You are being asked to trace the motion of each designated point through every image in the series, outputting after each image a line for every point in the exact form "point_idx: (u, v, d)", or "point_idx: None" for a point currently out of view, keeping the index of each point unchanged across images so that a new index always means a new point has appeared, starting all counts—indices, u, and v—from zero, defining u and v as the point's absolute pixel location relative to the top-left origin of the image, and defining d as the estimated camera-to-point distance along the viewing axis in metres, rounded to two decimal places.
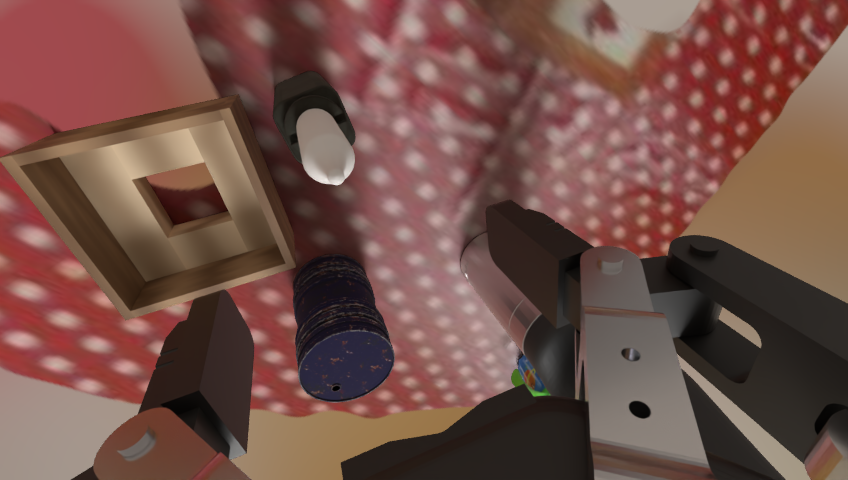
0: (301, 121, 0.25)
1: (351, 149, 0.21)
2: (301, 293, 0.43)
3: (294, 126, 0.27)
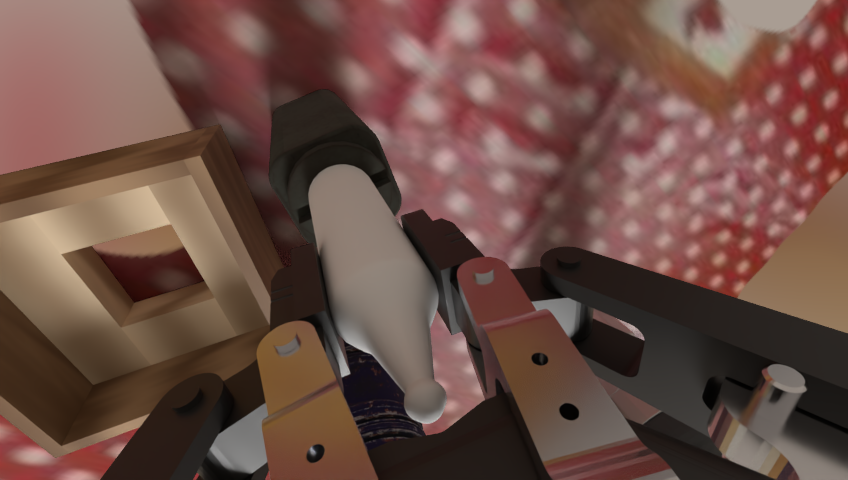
0: (319, 195, 0.14)
1: (434, 285, 0.10)
2: None
3: (305, 194, 0.16)
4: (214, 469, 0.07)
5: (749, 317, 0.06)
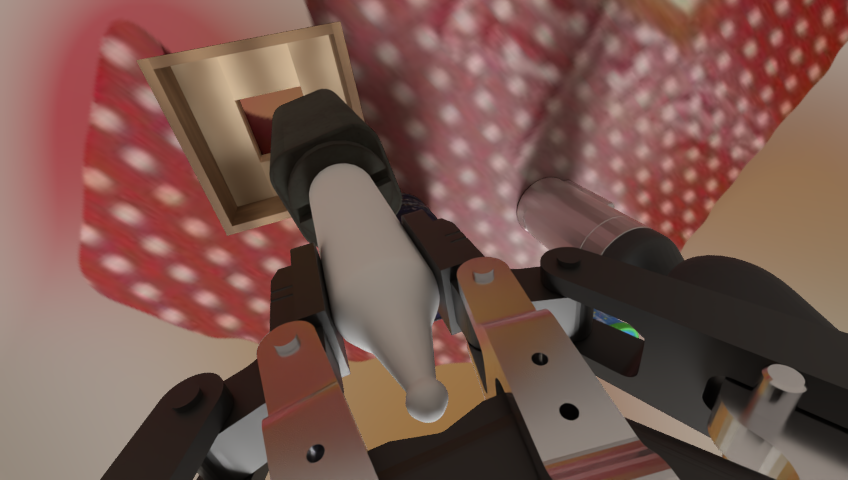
0: (320, 194, 0.14)
1: (436, 284, 0.10)
2: None
3: (306, 193, 0.16)
4: (214, 469, 0.07)
5: (750, 317, 0.06)
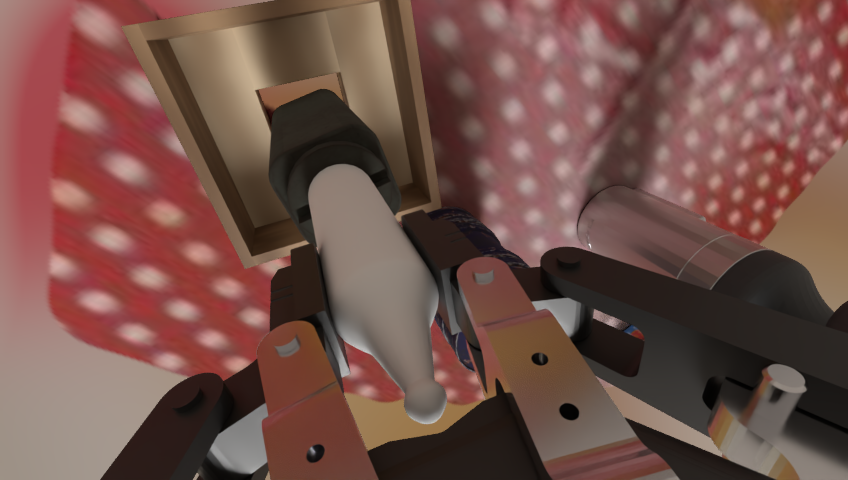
0: (319, 194, 0.14)
1: (434, 285, 0.10)
2: None
3: (305, 194, 0.16)
4: (214, 469, 0.07)
5: (749, 317, 0.06)
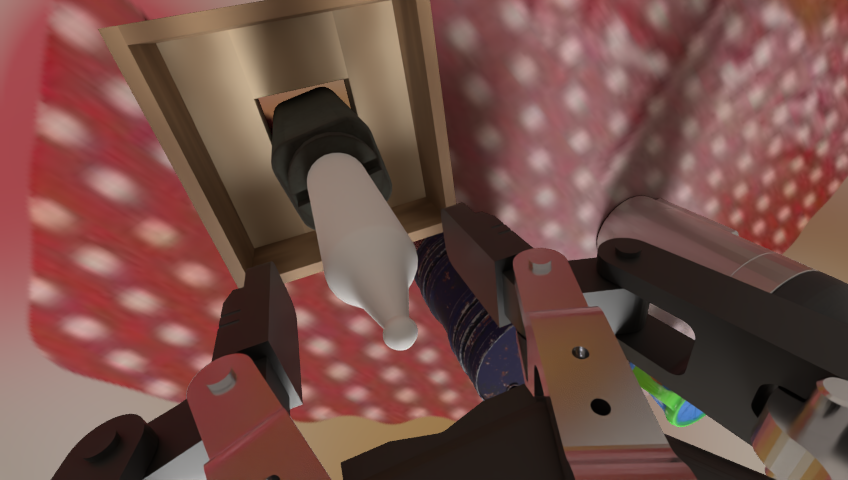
0: (316, 178, 0.16)
1: (414, 249, 0.12)
2: (442, 266, 0.33)
3: (304, 180, 0.18)
4: None
5: (819, 329, 0.06)
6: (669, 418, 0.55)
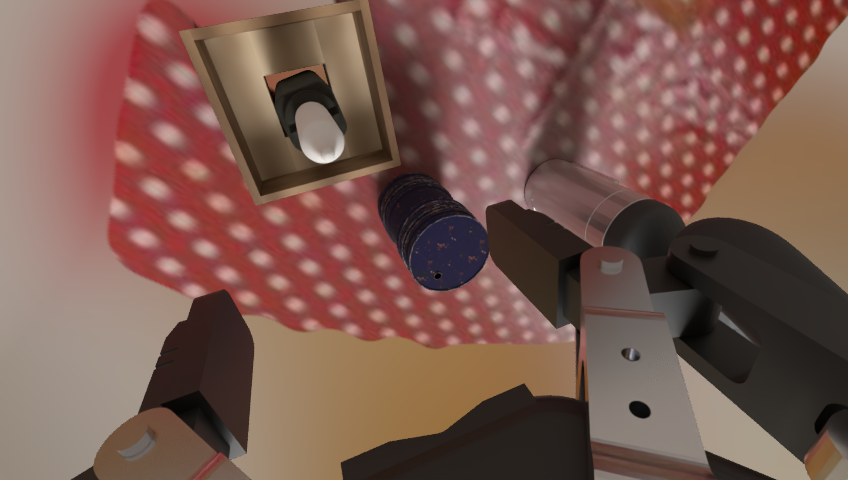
0: (299, 112, 0.29)
1: (341, 133, 0.25)
2: (395, 199, 0.47)
3: (293, 117, 0.31)
4: None
5: None
6: None
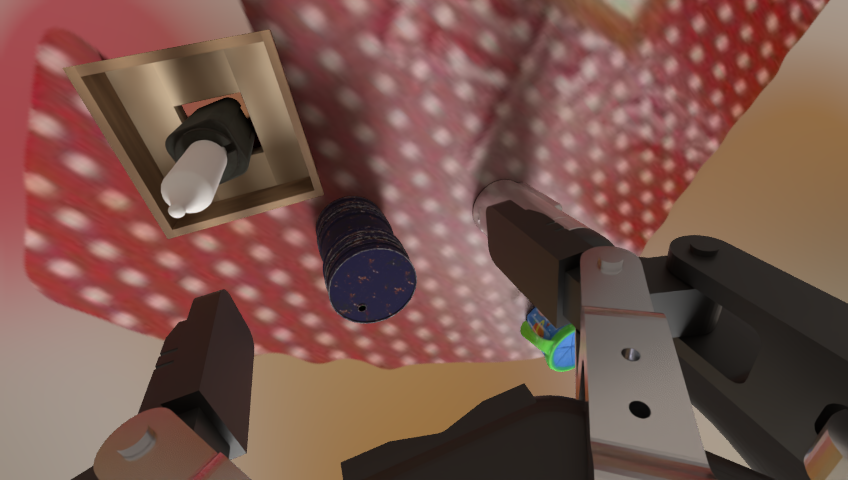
0: None
1: (207, 183, 0.24)
2: (326, 227, 0.46)
3: None
4: None
5: None
6: (548, 363, 0.67)
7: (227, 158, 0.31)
